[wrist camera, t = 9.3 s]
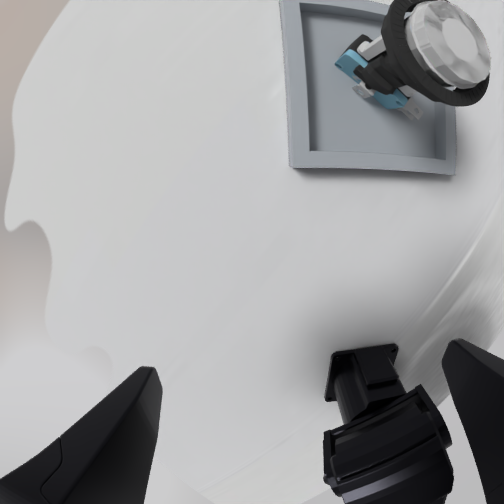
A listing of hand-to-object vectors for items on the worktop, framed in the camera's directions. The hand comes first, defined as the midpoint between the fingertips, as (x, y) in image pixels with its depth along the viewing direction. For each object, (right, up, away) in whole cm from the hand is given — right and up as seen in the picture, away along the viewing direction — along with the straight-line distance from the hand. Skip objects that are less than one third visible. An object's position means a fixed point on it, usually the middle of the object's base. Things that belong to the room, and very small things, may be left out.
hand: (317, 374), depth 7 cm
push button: (+6, +14, +8) cm, 18 cm away
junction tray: (+6, +15, +8) cm, 18 cm away
